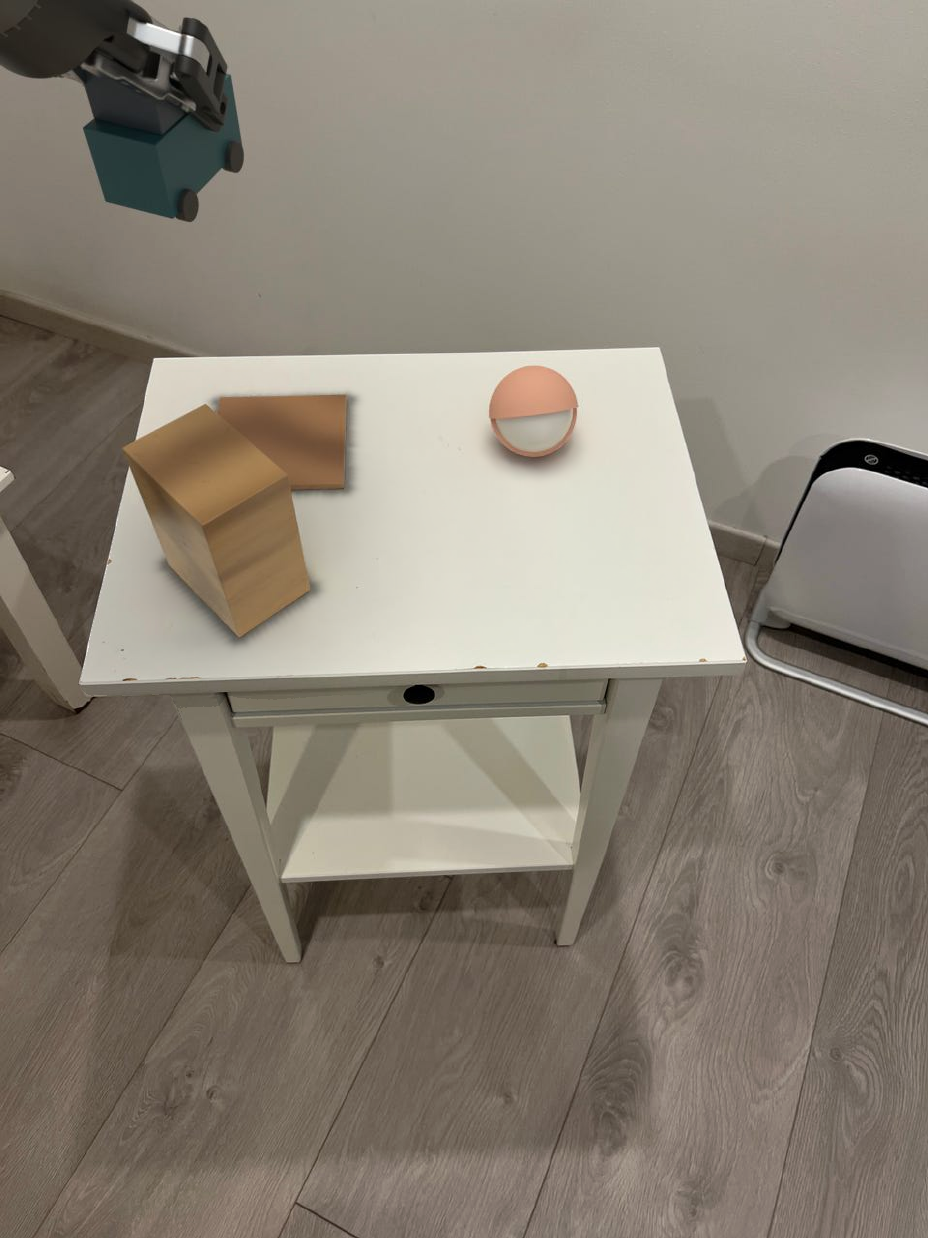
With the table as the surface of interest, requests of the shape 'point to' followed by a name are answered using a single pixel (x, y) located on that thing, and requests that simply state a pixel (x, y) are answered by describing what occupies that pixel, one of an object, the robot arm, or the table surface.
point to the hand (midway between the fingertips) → (178, 104)
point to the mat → (295, 434)
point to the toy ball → (533, 411)
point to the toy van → (156, 149)
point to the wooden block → (221, 517)
